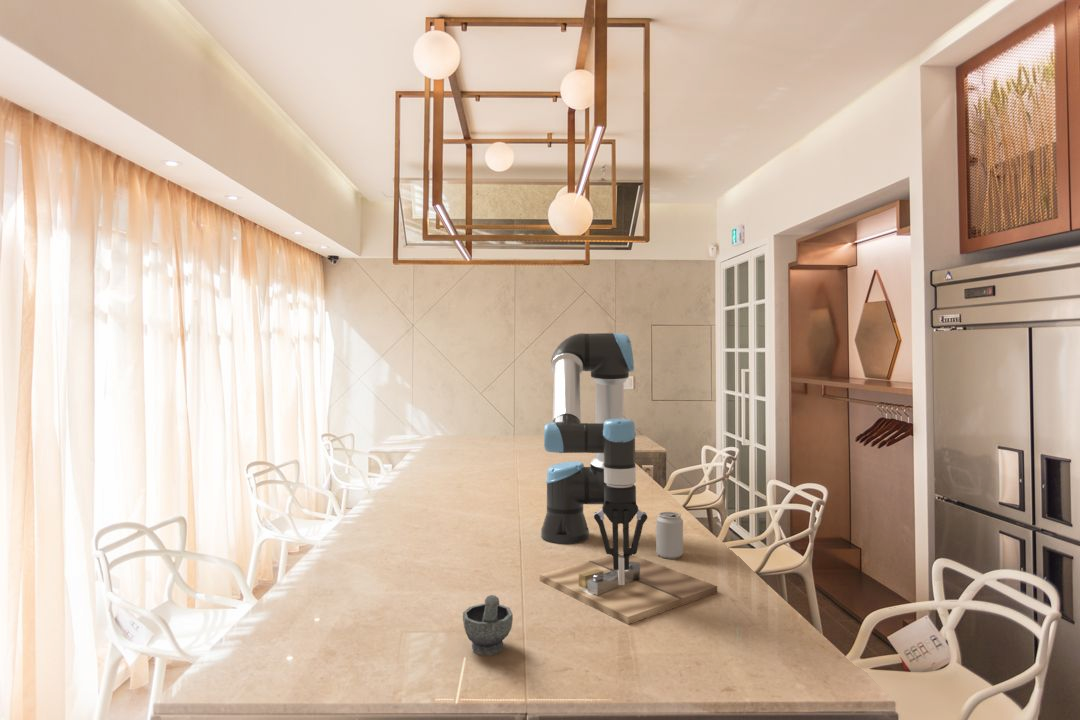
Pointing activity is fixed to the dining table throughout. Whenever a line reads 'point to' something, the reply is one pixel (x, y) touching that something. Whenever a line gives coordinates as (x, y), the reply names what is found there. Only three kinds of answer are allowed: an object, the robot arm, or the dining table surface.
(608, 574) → the bar
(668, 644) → the dining table surface
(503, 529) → the dining table surface
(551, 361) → the robot arm
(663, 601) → the door board
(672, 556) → the can
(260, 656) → the dining table surface
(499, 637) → the mortar and pestle
